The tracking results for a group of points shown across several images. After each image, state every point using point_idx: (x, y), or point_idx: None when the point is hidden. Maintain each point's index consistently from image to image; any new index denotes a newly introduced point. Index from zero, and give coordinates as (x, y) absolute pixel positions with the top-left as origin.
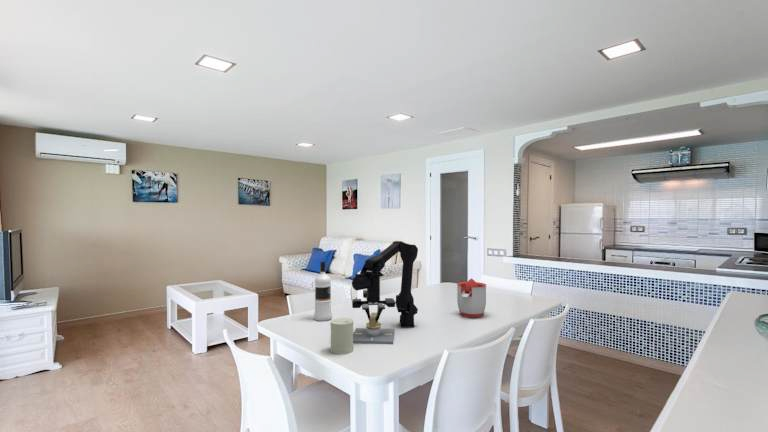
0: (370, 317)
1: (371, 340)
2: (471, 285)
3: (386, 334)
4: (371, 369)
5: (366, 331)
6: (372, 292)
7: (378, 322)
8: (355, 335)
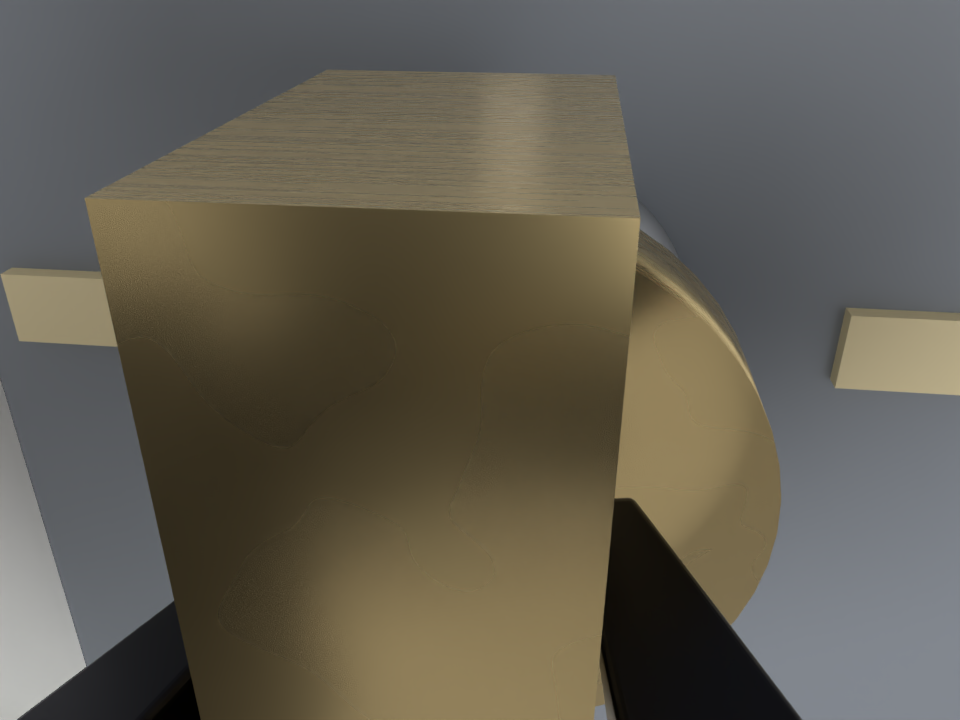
0: None
1: None
2: None
3: (890, 391)
4: None
5: (258, 46)
6: None
7: (689, 334)
8: (71, 400)
